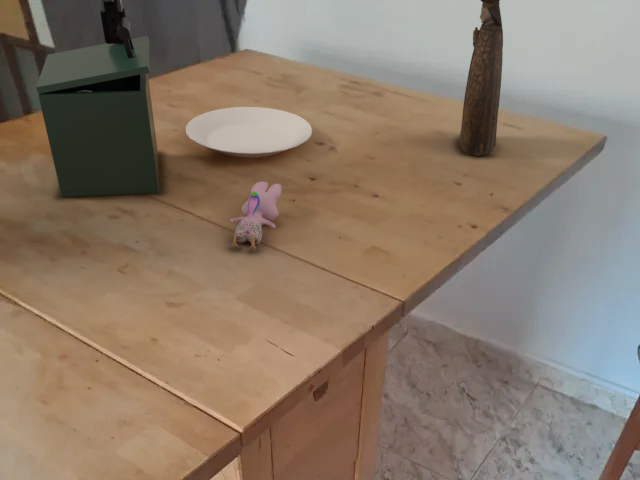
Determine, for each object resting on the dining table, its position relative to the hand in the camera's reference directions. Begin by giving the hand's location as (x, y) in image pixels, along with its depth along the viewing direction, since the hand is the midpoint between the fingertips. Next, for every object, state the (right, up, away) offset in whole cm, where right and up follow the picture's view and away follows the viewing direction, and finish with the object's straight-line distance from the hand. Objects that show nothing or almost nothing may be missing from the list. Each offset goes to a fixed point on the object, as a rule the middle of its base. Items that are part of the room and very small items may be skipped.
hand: (117, 41), depth 97 cm
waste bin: (-3, -16, +6) cm, 18 cm away
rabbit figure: (+20, -27, -4) cm, 35 cm away
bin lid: (-2, -6, -4) cm, 7 cm away
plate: (+17, -7, +18) cm, 26 cm away
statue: (+55, -7, +20) cm, 59 cm away
